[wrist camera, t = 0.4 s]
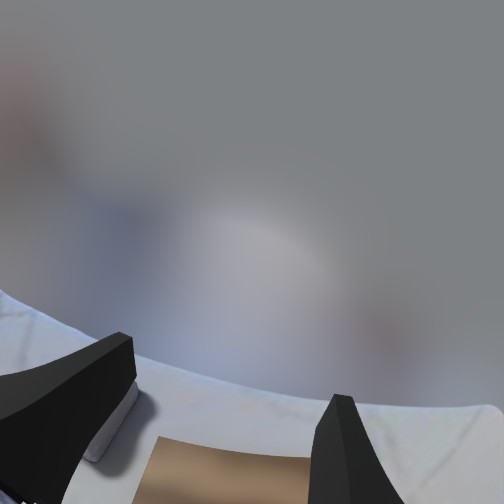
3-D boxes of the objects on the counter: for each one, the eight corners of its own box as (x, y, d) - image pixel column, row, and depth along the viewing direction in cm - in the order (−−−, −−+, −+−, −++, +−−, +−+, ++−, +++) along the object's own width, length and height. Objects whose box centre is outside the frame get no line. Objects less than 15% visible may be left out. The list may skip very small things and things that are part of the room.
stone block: (52, 441, 23) (102, 470, 20) (28, 417, 21) (73, 446, 18) (97, 381, 33) (149, 393, 30) (79, 356, 32) (130, 365, 28)
